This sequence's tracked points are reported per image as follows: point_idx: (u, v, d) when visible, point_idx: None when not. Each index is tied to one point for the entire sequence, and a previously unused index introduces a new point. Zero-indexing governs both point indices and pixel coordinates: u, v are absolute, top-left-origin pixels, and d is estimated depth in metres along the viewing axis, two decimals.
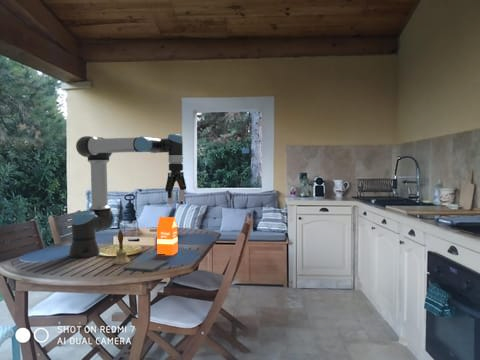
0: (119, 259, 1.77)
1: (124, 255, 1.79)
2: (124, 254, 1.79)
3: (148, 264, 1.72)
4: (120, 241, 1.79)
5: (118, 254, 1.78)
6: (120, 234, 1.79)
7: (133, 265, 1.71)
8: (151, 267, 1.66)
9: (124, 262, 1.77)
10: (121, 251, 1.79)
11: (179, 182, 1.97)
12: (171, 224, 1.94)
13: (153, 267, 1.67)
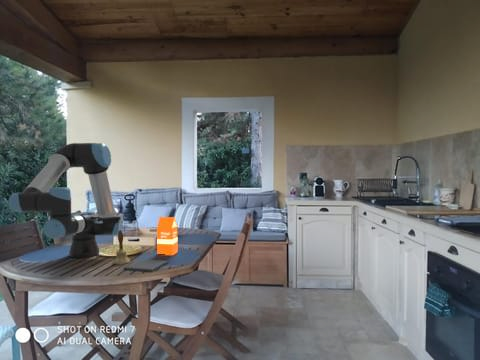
0: (119, 259, 1.77)
1: (124, 255, 1.79)
2: (124, 254, 1.79)
3: (148, 264, 1.72)
4: (120, 241, 1.79)
5: (118, 254, 1.78)
6: (120, 234, 1.79)
7: (133, 265, 1.71)
8: (151, 267, 1.66)
9: (124, 262, 1.77)
10: (121, 251, 1.79)
11: None
12: (171, 224, 1.94)
13: (153, 267, 1.67)
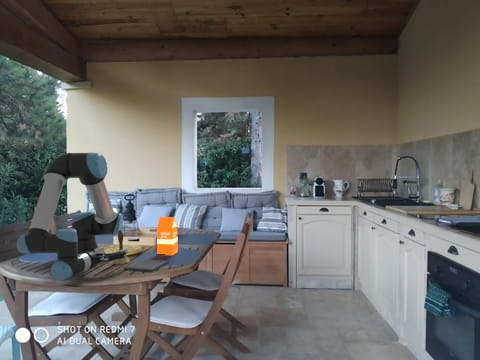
0: (119, 259, 1.77)
1: (124, 255, 1.79)
2: None
3: (148, 264, 1.72)
4: (120, 241, 1.79)
5: None
6: (120, 234, 1.79)
7: (133, 265, 1.71)
8: (151, 267, 1.66)
9: (124, 262, 1.77)
10: None
11: None
12: (171, 224, 1.94)
13: (153, 267, 1.67)
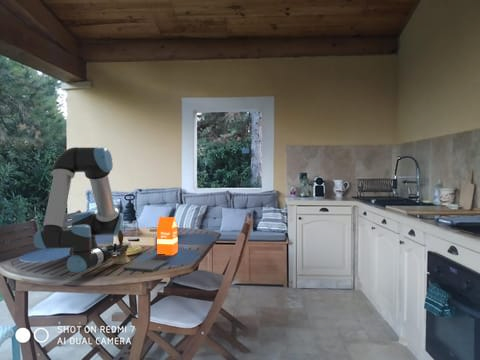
0: (119, 259, 1.77)
1: (124, 255, 1.79)
2: (124, 254, 1.79)
3: (148, 264, 1.72)
4: (120, 241, 1.79)
5: None
6: (120, 234, 1.79)
7: (133, 265, 1.71)
8: (151, 267, 1.66)
9: (124, 262, 1.77)
10: None
11: None
12: (171, 224, 1.94)
13: (153, 267, 1.67)
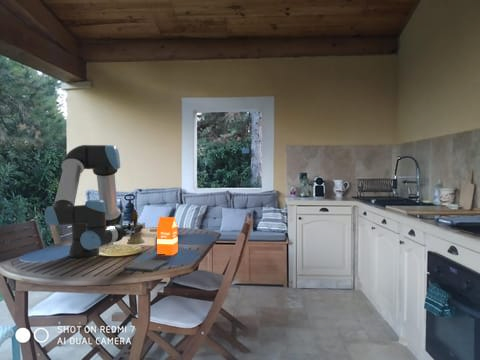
0: (133, 239, 1.71)
1: (138, 235, 1.72)
2: (138, 234, 1.72)
3: (148, 264, 1.72)
4: (134, 221, 1.72)
5: None
6: (134, 213, 1.72)
7: (133, 265, 1.71)
8: (151, 267, 1.66)
9: (138, 242, 1.70)
10: None
11: None
12: (171, 224, 1.94)
13: (153, 267, 1.67)
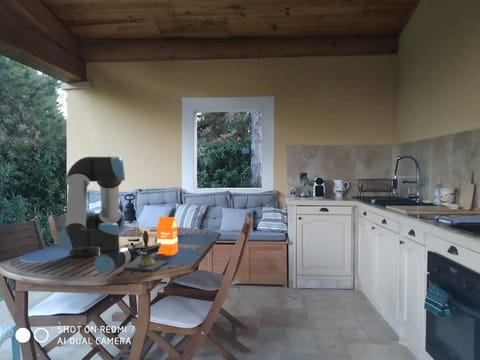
0: (145, 261, 1.70)
1: (150, 256, 1.71)
2: (149, 255, 1.71)
3: None
4: (145, 242, 1.71)
5: None
6: (145, 235, 1.71)
7: (133, 265, 1.71)
8: (151, 267, 1.66)
9: (150, 264, 1.70)
10: None
11: None
12: (171, 224, 1.94)
13: (153, 267, 1.67)
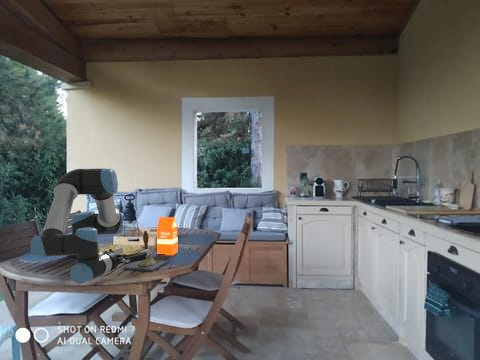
0: (145, 261, 1.70)
1: (150, 256, 1.71)
2: (149, 255, 1.71)
3: None
4: (145, 242, 1.71)
5: None
6: (145, 235, 1.71)
7: (133, 265, 1.71)
8: (151, 267, 1.66)
9: (150, 264, 1.70)
10: None
11: None
12: (171, 224, 1.94)
13: (153, 267, 1.67)
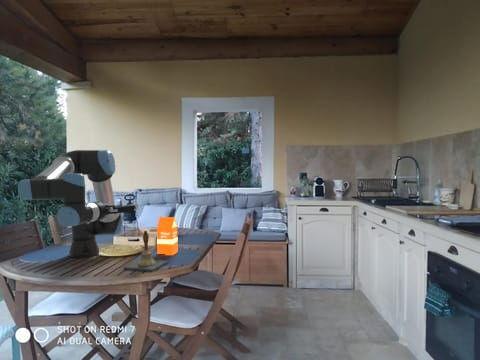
0: (145, 261, 1.70)
1: (150, 256, 1.71)
2: (149, 255, 1.71)
3: None
4: (145, 242, 1.71)
5: (143, 255, 1.70)
6: (145, 235, 1.71)
7: (133, 265, 1.71)
8: (151, 267, 1.66)
9: (150, 264, 1.70)
10: (146, 252, 1.71)
11: None
12: (171, 224, 1.94)
13: (153, 267, 1.67)
